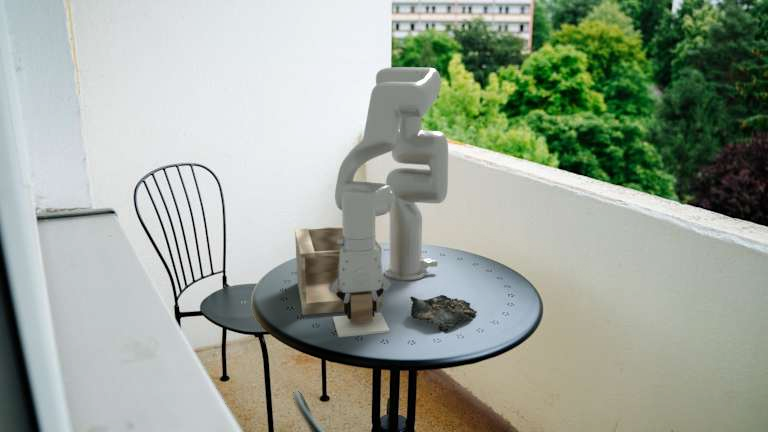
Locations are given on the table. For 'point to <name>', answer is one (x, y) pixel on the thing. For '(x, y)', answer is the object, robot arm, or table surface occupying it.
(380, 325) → the tile pad
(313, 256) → the slot box
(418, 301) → the decorative rock
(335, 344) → the table surface
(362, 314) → the walnut block
